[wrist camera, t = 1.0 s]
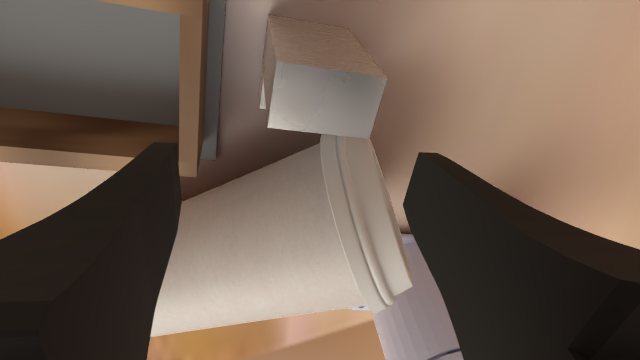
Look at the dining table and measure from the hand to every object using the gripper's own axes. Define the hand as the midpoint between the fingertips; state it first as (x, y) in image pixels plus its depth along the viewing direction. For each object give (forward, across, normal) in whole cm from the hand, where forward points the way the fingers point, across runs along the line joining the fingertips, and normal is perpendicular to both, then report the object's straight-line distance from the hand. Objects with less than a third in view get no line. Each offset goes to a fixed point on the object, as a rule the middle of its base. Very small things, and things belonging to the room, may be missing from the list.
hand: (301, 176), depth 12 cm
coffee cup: (+7, +8, +12) cm, 16 cm away
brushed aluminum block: (+10, -1, 0) cm, 10 cm away
